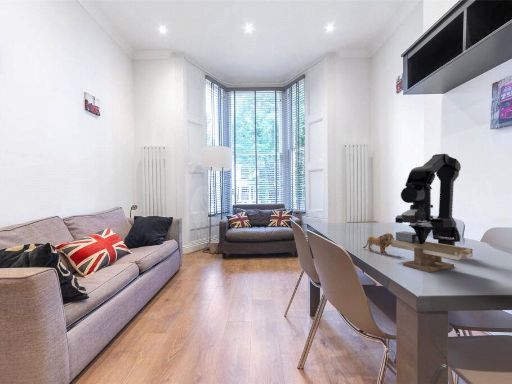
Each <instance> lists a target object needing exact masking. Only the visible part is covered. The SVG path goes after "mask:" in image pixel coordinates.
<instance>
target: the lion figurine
mask: <svg viewBox="0 0 512 384" xmlns="http://www.w3.org/2000/svg"><path fill="white" fill-rule="evenodd" d="M391 240H395V237H394V234H392V233H390V232H387V233H383V234H382V235H379V236H378V237H376V236H373V235H370V236H368V237H367V241H366V245H365V246H363V247H362V249H366V248H367V249H368V252H372V248H371V247H372V246H373V245H374V246H376V247H379V250H380V251H379V252H380V254H381V255H384V254H387V251H386V248H388V247H390V246H391Z"/></svg>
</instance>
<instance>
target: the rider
mask: <svg viewBox="0 0 512 384" xmlns="http://www.w3.org/2000/svg"><path fill="white" fill-rule="evenodd" d="M395 240H398V241H404V242H410V243H416V244H420V242H419V240H418V237H417V235H416V232H411V231H397V232H395Z"/></svg>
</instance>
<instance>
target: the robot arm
mask: <svg viewBox="0 0 512 384" xmlns="http://www.w3.org/2000/svg"><path fill="white" fill-rule="evenodd" d="M460 171H461V162H459V160H458V159H457V158H454V157H451V156H449V154H447V153H437V154H433V155H432V157H431V158H429V160H428V161H426V162H425V163H424V164H423V165H421V166H417V167H414V168H412V169H411V170H410V171H409V174H408V176H407V179H406V182H405V184H404V185H405V187H404V188H403V189H402V190H401V192H400V198H401V200H402V201H403V202H404V203H407V204H410V206H409V209H408V210H406V211H404V212H402V213H401V214H398V215H396V216H395V218H394V219H395V223H396V224H403V223H405V224H406V223H409V224H408V226H409V227H411V229H413V230H414V233H416V235H417V237H418V240H419V242H420V244H424V243H425V241H427V238H428V237H429V235H430V233H431V234H432V238H433V240H437V243H440V244H446V245H452V246H456V243H457V242H458V243H460V242H461V234H460V232H459V229H458V227H457V222H456V220H455V219H454V217H453V202H454V186H455V185H454V183H455V181H456V180H457V178H458V177H459V175H460ZM436 177H437V178H438V179H439V202H438V203H439V204H438V215H437V217H436V218H434V215H432V211H431V210H432V209H433V208H434V205H433V204H432V198H431V194H432V193H431V192H432V190H433V188H432V186H431V185H433V183H434V180H435V179H436Z"/></svg>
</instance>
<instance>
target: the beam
mask: <svg viewBox="0 0 512 384" xmlns="http://www.w3.org/2000/svg"><path fill="white" fill-rule="evenodd" d="M390 246H391V247H392V248H396V249H402V250H405V251H412V252H414V248H421V249H423V253H426V254H431V255H436V256H441V257H442V258H447V259H452V260H457V261H458V260H459V261H460V260H463V259H468V258H473V256H474V255H473V252H474V251H473V250H474V249H473V248H469V247H464V246H456V245H455V246H452V245H446V244H440V243H438V242H433V241H427V240H426V241H425V243H424V244H416V243H410V242H404V241H398V240H396V239H394V240H391V245H390Z"/></svg>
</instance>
